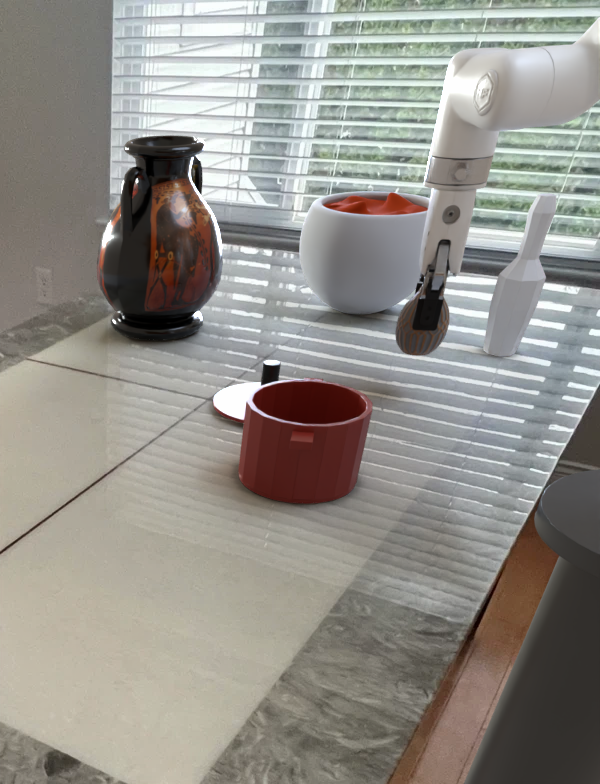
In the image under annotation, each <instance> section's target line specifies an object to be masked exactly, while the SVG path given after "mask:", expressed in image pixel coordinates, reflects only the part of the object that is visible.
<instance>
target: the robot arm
mask: <svg viewBox="0 0 600 784" xmlns="http://www.w3.org/2000/svg"><path fill="white" fill-rule="evenodd" d="M441 94H442V95H441V99H440V103H439V109H438V113H437V117H436V123H435V127H434V131H433V137H432V141H431V147H430V151H429V156H428V161H427V166H426V169H425V170H426V172H425V176H424V181H423V187H426V188H428V189H431V193H430V197H429V198H430V202H429V206H428V211H427V216H426V221H425V226H424V231H423V237H422V244H421V251H420V261H419V262H420V271H421V274H420V278H419V282H421V283H417V286H416V289H415V290H414V295H415V294H416V293H417V292H418V291H419V289H420V288H421V286H422V285H423V288H422V293H421V297H418V302H417V306H416V311H415V315H414V320H413V324H412V329H413V330H427V331H435V330H436V329H437V326H438V322H439V317H440V313H441V309H442V305H443V301H444V298H445V290H446V285H447V280H448V276H449V272H450V274H452V277H455V278H456V277H457V276H458V275H459V274H460V273H461V270H462V269H461V268H462V265H463V259H464V254H465V250H466V246H467V241H468V236H469V233H470V227H471V224H472V218H473V214H474V208H475V203H476V196H477V190H480V189H484V188H486V187H487V183H488V179H489V176H490V171H491V167H492V163H493V159H494V155H495V152H496V147H497V144H498V139H499V136H500V132H507V131H508V132H509V131H518V130H519V131H520V130H523V129H529V128H530V129H531V128H541V127H554V126H560V125H563V124H567V123H570V122H572V121H574V120H575V119H578V117H580V116H582V115H583V114H584V113H586V112H587V111H589V110H590V109H591V108H592V107H593V106H595V104H597V103H598V102H599V101H600V16H599V17H597V19H596V20H595V21H594V22H593V23H592V24H591V25H590V27H589V28H587V30H585V32H584V33H583V34H582V35H581V36H580V37H579V38H578V39H577V40H576V41H574V42H573V43H571V44H557V45H555V44H554V45H542V46H541V45H540V46H535V47H534V46H533V47H523V48H511V49H510V48H506V47H476V48H475V47H474V48H466V49H461V50H460V51H457V52H456V53H455V54H454V55H453V56H452V57H451V59H450V61H449V64H448V67H447V70H446V75H445V79H444V84H443V90H442V93H441ZM443 296H444V298H443Z"/></svg>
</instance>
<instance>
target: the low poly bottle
mask: <svg viewBox="0 0 600 784" xmlns="http://www.w3.org/2000/svg"><path fill="white" fill-rule="evenodd" d="M556 212H557V194H554V193H549V192H544V193H539V194H537V195H536V197H535V199H534V200H533V202H532V204H531V205H530V208H529V209H528V211H527V217H526V221H525V227H524V232H523V236H522V239H521V241H520V246H519V248H518V252H517V255H516V257H515V258H514V259H513V260H512V261H511V262H510V263H509V264H508V265H506V266H505V268H504V269H502V270H501V271H500V273H498V276H497V279H496V283H495V286H494V289H493V294H492V297H491V299H490V303H489V310H488V316H487V323H486V329H485V334H484V341H483V346H482V350H483V352H485V353H486V354H488V355H491V356H496V357H510V356H513V355H515V354H516V353H517V350H518V348H519V347H520V344H521V342H522V340H523V338H524V335H525V333H526V331H527V329H528V326H529V325H530V322H531V320H532V318H533V316H534V313H535V312H536V309H537V307H538V303H539V300H540V298H541V295H542V292H543V288H544V285H545V282H546V280H547V276H546V274H545V271H544V267H543V266H542V262H541V261H540V256H541V253H542V249H543V246H544V244H545V240H546V237H547V234H548V231H549V229H550V228H551V224H552V222H553V219H554V217H555V215H556Z"/></svg>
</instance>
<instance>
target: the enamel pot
mask: <svg viewBox="0 0 600 784" xmlns="http://www.w3.org/2000/svg"><path fill="white" fill-rule="evenodd" d="M373 405H374V404H373V401H372V400H371V399H370V398H369V396H367V395H366V394H365V393H363V392H362V391H359V390H358V389H356V388H354V387H351V386H347V385H344V384H341V383H337V382H334V381H333V382H332V381H326V380H324V378H318V377H317V378H316V377H303V379H293V378H292V379H285V380H278V381H276V382H272V383H269V384H265V385H262V386H259V387H257V388H256V389H254V390H253V391H252V392H250V393H249V395H248V398H247V401H246V409H245V418H244V423H243V426H242V427H243V428H242V435H241V443H240V452H239V461H238V469H237V472H238V473H237V474H238V478H239V479H238V480H239V481H240V482H241V484H242V485H243V486H244V487H245V488H246V489H248V490H249V491H250V492H252V493H254V494H256V495H258V496H261V497H264V498H267V499H268V500H269V499H270V500H273V501H278V502H283V503H289V504H299V505H301V504H302V505H303V504H304V505H306V504H308V505H309V504H321V503H327V502H333V501H336V500H339V499H342V498H344V497H345V496H347V495H348V494H350V493H351V492H352V491H353V490H354V488H355V487H356V484H357V482H358V477H359V473H360V468H361V464H362V461H363V460H362V459H363V456H364V451H365V447H366V446H365V445H366V441H367V436H368V432H369V427H370V423H371V418H372V413H373V407H374V406H373Z"/></svg>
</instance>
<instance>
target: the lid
mask: <svg viewBox="0 0 600 784" xmlns="http://www.w3.org/2000/svg"><path fill="white" fill-rule="evenodd" d="M281 365H282V362H281V361H280V360H277V359H267V360H264V361H263V362H262V371H261V379H260V381H259V382H257V381H256V382H245V383H239V384H234V385H230V386H228V387H227V386H226V387H225V388H223V389H220V390H219V391H218V392H217V393H216V394H214V396H213V398H212V407H213V409H214V410H215V411H216V413H218V414H219V415H221V416H222V417H223V418H226V419H228V420H230V421H233V422H237V423H240V424H244V418H245V409H246V401H247V398H248V395H249V393H250V392H252V391H253V390H254V389H256V388H257V387H259V386H262V385H265V384H269V383H272V382H276V381H280V373H281Z"/></svg>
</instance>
